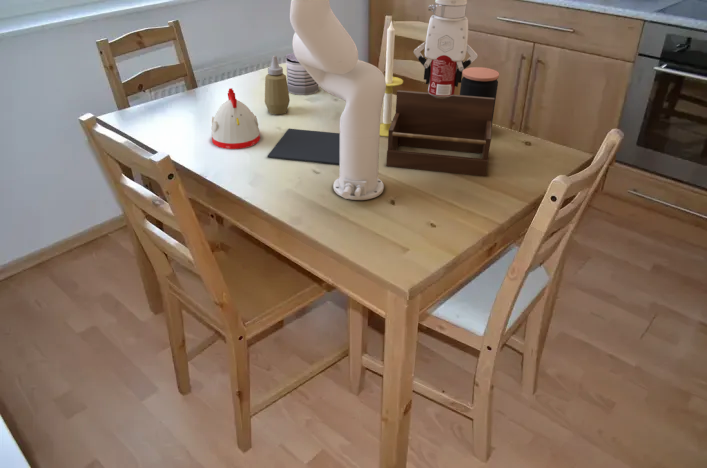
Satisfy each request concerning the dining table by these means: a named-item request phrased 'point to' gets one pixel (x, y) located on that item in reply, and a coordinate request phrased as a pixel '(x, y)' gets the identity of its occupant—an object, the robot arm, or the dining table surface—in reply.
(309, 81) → the can
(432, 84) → the soda can
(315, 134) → the mat
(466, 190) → the dining table surface
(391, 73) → the candle
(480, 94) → the coffee jar
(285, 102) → the squeeze bottle
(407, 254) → the dining table surface
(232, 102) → the kitchen timer
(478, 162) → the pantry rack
